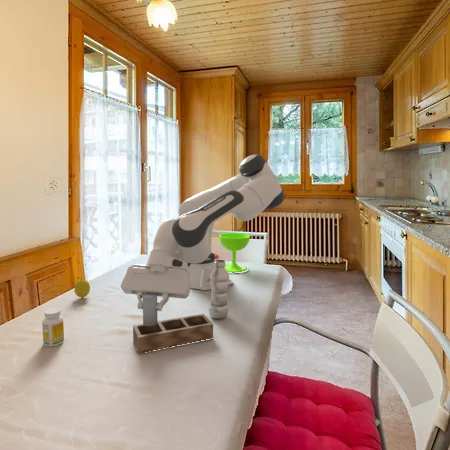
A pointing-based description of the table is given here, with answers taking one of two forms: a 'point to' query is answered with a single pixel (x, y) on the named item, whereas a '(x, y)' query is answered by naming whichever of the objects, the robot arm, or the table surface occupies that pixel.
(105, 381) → the table surface
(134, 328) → the walnut rack
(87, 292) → the lemon
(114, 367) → the table surface
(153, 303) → the slate peg
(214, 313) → the plastic bottle
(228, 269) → the wineglass
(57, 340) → the supplement bottle
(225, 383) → the table surface
